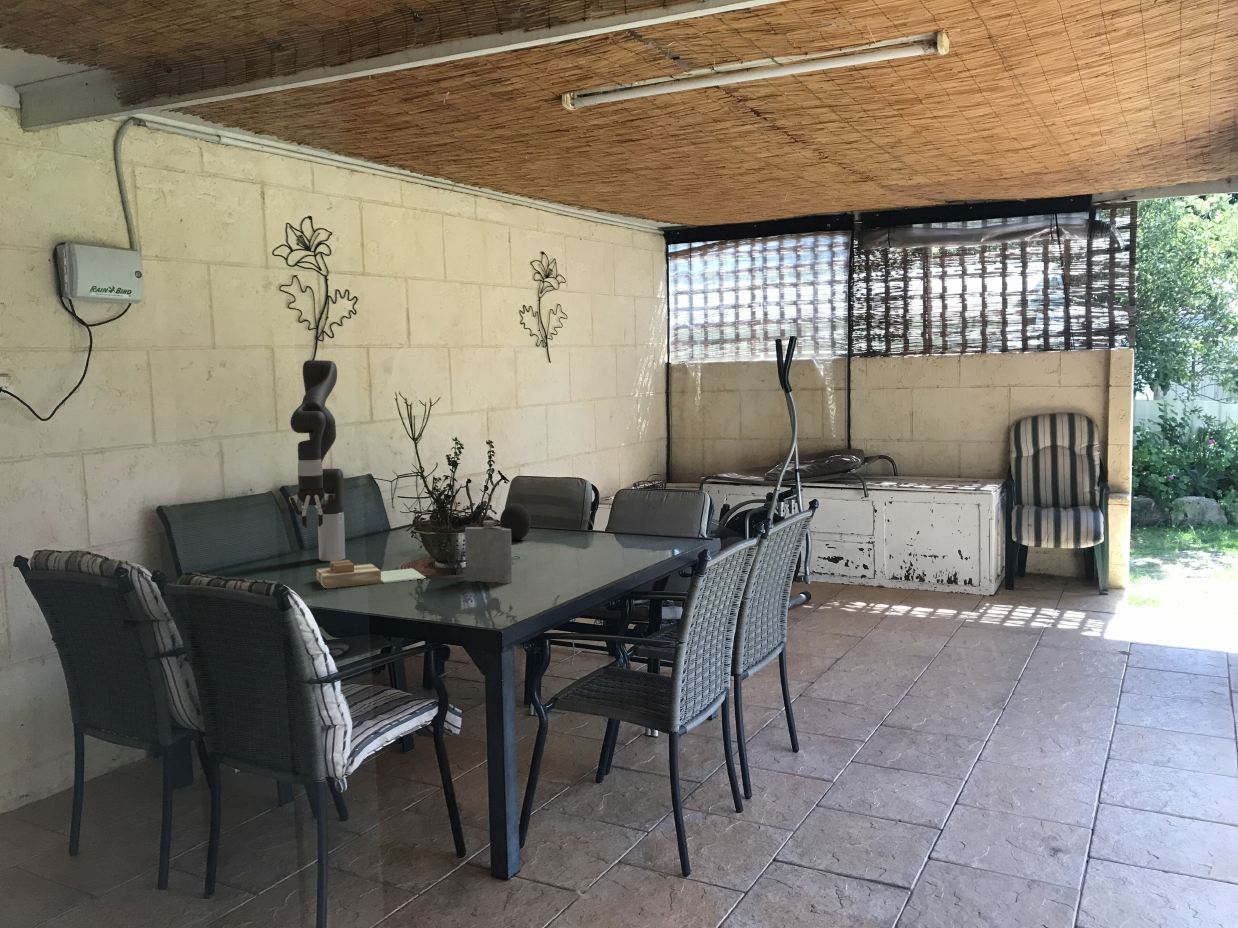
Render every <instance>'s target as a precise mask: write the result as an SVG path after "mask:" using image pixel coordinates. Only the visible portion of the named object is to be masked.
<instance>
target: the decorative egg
mask: <svg viewBox="0 0 1238 928" xmlns="http://www.w3.org/2000/svg"><path fill="white" fill-rule="evenodd" d="M531 521H532V520H531V515H530V512H529V510H528V509H527V508H526V507H525V506H524V505H522V504H520V503H511V504H509V505H508V506H506V507H505V508H504V509H503V510H502V511H501V514H500V518H499V527H501V528H506V529H511V542H512V541H514V542H517V541H520V540H523V539H524V538H525V537H526V536H527V535H528V533H529V531H530V528H531V525H532V523H531Z"/></svg>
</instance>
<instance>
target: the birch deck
mask: <svg viewBox="0 0 1238 928" xmlns="http://www.w3.org/2000/svg"><path fill="white" fill-rule="evenodd" d="M315 572H316V573H315V574H316V581H317V580H318V581H319V582H320V583H321V585H322V586H323V587H324V588H327V589H335V588H336V587H337V588H345V587H354V586H361V585H362V586H363V585H364V584H365V585H373V584H381V583H382V582H381V572H382V571H381V570H380V569H379V568H378V567H377V566H375V565H374V564H372V563H364V564H354V572H347V573H337V574H335V573H334V572H333V571H332V570H331V569H330V567H324V568H323V567H321V568H316V571H315ZM321 585H320V586H321ZM322 586H321V587H322ZM323 587H322V588H323ZM324 588H323V589H324Z"/></svg>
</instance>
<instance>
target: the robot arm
mask: <svg viewBox="0 0 1238 928" xmlns="http://www.w3.org/2000/svg"><path fill="white" fill-rule="evenodd" d="M302 379H303V385H304V386H303V387H304V392H305V394H304V396H303V398H302V401H301V404H300V405H299V406H298V407H297V408H296V409H295V410H294V411H293V413H292V415H291V417H290V420H289V421H290V428H291V429H292V431H293V432H294V433H297V434H308V437H309V439H306V440H302V441H299V442H298V443H297V483H298V484H297V485H298V490H297V494H295V495H293V496H289V497H288V500H289V502H290V505H291V507H292V510H293V511H294V513H295V514H296V515H297V516H300V520H301V521H300V522H301V523H300V525H301V526H302V527H303V528H304V529H306V528H308V521H307V520H308V517H307V511H308V508H309V506H315V509H316V513H317V515H316V520H317V521H316V522H317V533H318V534H317V535H318V536H317V537H318V538H317V539H318V560H319V561H322V562H331V561H342V560H346V542H345V541H346V540H345V539H346V538H345V536H346V535H345V534H346V533H345V514H344V513H345V508H344V507H345V506H344V473H343V470H342V469H341V468H323V462H324V460H325V459H324V458H326V455H327V453H328V452H329V451H330V449H331V448H332V446H333V444H334V443H335V441H336V439H337V429H336V428H337V426H336V419H335V417H334V416H333V414H332V412H331V410H329V408H328V407H327V406H326V401H327V399H328V398H329V396H330V394H331V393H332V391H333V390H334V388H335V386H336V384H337V379H338V368H337V365H336V363H335V362H334V361H333V360H327V359H326V360H323V359H322V360H320V359H318V360H316V359H313V360H312V359H308V360H305V361H304V362H303V365H302ZM298 499H299V501H300V502H302V504H301V509H300V510H299V506H298V505H297V502H298ZM322 499H324V500H325V502H323V503H321V501H322Z"/></svg>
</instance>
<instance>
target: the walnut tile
mask: <svg viewBox="0 0 1238 928" xmlns="http://www.w3.org/2000/svg"><path fill="white" fill-rule="evenodd" d="M329 565H330V566H329V568H330V569H331V570H332V571H333V572H334V573H335V574H337V573H347V572H354V565H355V563H353V562H352V561H351V560H349V559H343V560H338V561H329Z"/></svg>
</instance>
